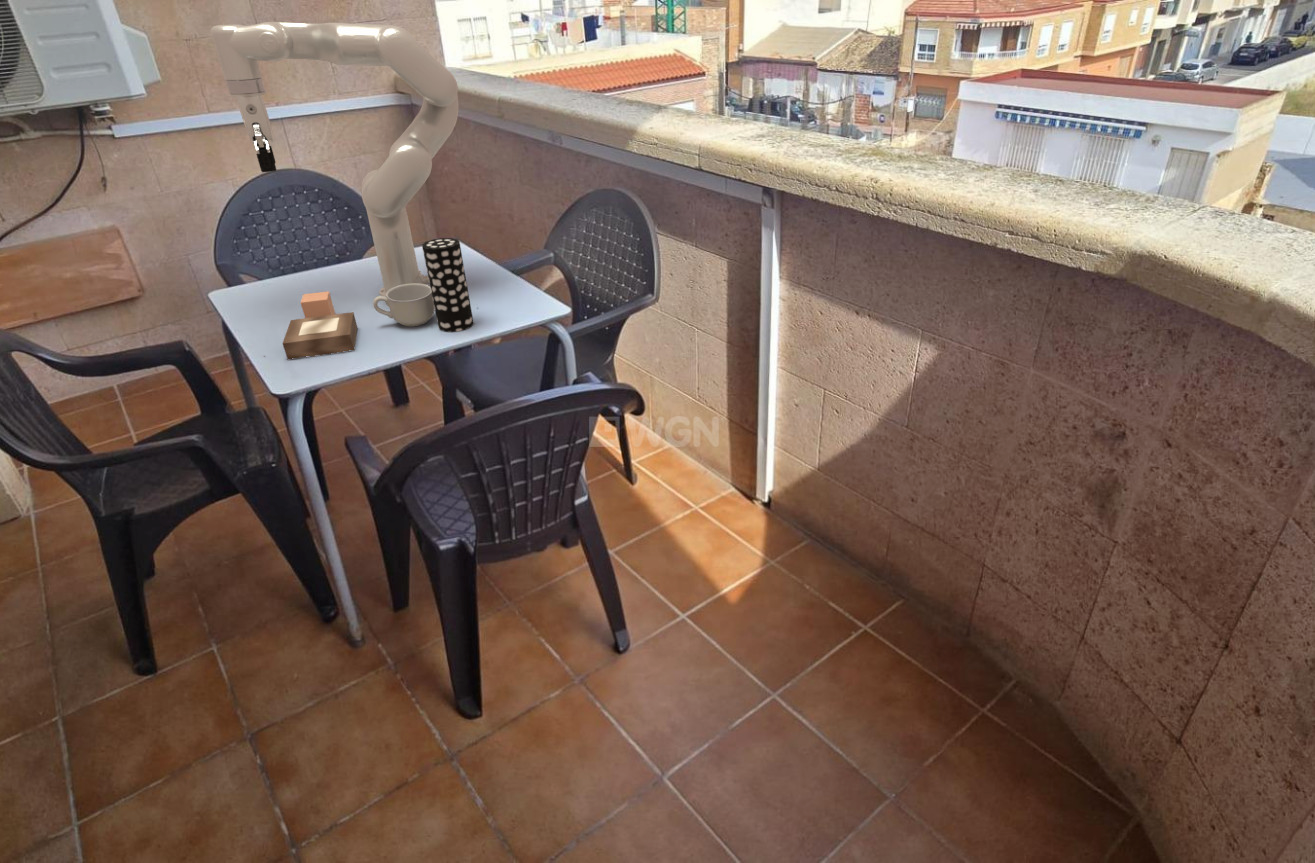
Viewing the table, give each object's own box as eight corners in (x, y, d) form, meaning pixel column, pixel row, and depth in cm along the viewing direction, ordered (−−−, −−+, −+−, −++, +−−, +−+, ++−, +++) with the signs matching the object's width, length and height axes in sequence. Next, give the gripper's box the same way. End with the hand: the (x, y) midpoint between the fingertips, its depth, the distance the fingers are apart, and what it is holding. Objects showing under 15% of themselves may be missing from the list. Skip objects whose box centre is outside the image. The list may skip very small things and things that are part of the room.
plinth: (357, 327, 176) (353, 311, 174) (354, 350, 165) (349, 333, 163) (295, 335, 173) (290, 319, 171) (287, 359, 162) (282, 342, 159)
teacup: (439, 311, 184) (433, 281, 180) (436, 328, 175) (429, 296, 171) (382, 316, 182) (375, 286, 178) (376, 333, 173) (368, 302, 169)
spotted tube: (441, 334, 171) (424, 251, 161) (435, 322, 178) (419, 241, 167) (476, 328, 174) (462, 245, 164) (469, 316, 181) (455, 236, 170)
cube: (335, 313, 185) (329, 291, 182) (333, 322, 180) (326, 299, 177) (310, 316, 184) (303, 294, 180) (307, 325, 179) (300, 302, 176)
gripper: (264, 90, 157) (287, 172, 166) (264, 83, 171) (285, 159, 180) (226, 92, 155) (251, 176, 164) (228, 85, 168) (251, 163, 177)
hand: (269, 167), depth 172 cm, fingers open, 9 cm apart
